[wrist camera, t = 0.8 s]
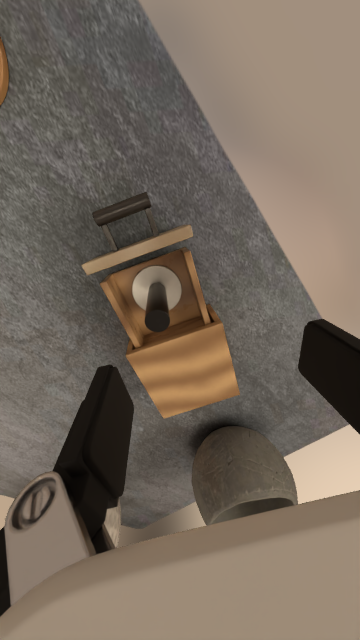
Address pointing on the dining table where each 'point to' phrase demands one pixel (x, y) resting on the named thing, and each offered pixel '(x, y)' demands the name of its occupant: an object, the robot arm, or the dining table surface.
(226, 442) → the bowl
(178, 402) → the cabinet
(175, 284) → the rod on disc base
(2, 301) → the dining table surface
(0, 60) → the disc
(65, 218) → the dining table surface
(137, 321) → the drawer
